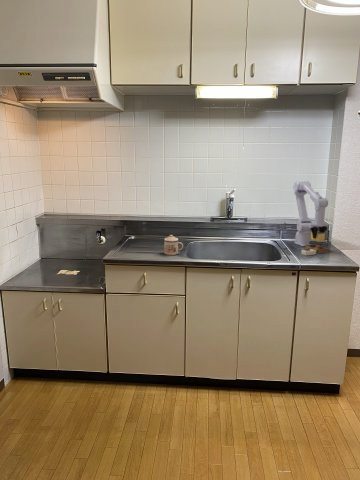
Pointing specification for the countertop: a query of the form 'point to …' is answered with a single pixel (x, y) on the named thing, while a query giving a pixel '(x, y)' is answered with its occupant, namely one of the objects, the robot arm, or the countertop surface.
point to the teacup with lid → (171, 245)
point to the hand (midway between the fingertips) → (317, 237)
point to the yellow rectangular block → (318, 236)
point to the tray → (316, 248)
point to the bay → (308, 252)
